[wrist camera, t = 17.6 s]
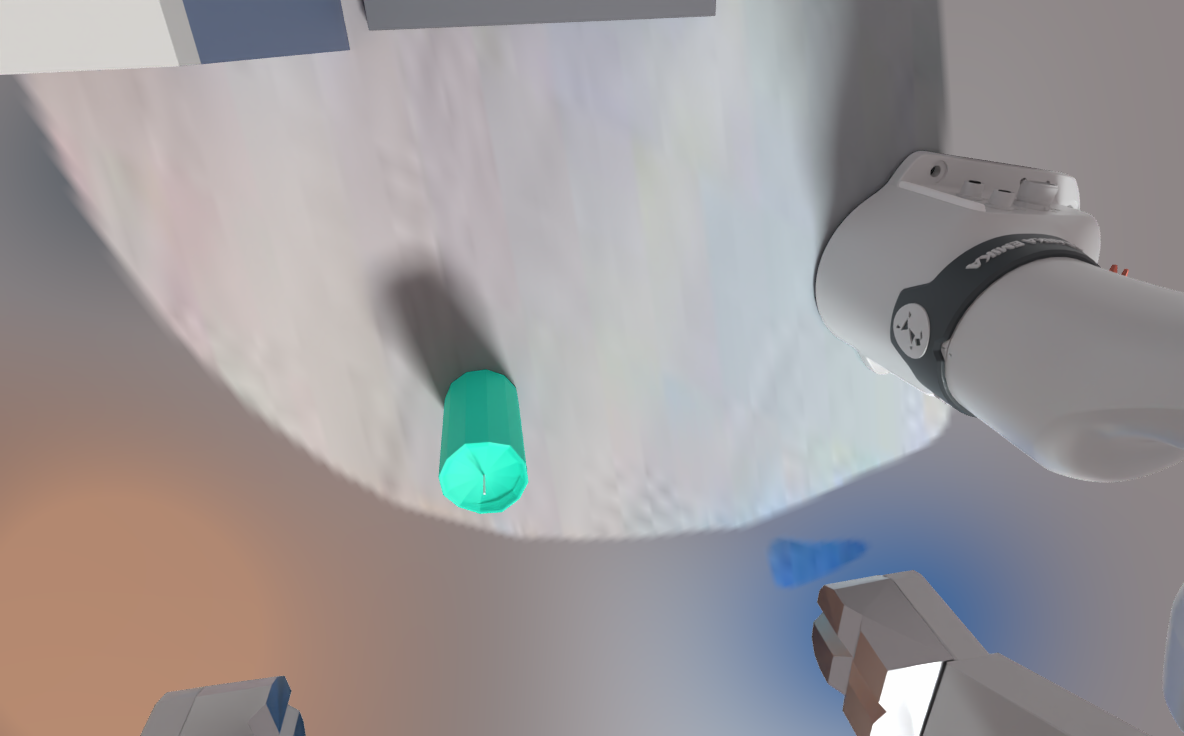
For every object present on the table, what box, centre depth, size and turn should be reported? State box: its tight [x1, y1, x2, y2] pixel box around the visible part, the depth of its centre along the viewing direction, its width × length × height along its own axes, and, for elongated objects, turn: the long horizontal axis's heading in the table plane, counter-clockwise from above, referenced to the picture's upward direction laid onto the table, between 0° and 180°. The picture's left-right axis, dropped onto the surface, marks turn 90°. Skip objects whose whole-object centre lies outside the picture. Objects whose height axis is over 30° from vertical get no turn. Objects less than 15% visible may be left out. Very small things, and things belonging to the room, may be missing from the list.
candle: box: [439, 369, 528, 514], centre depth 47 cm, size 6×6×12 cm
